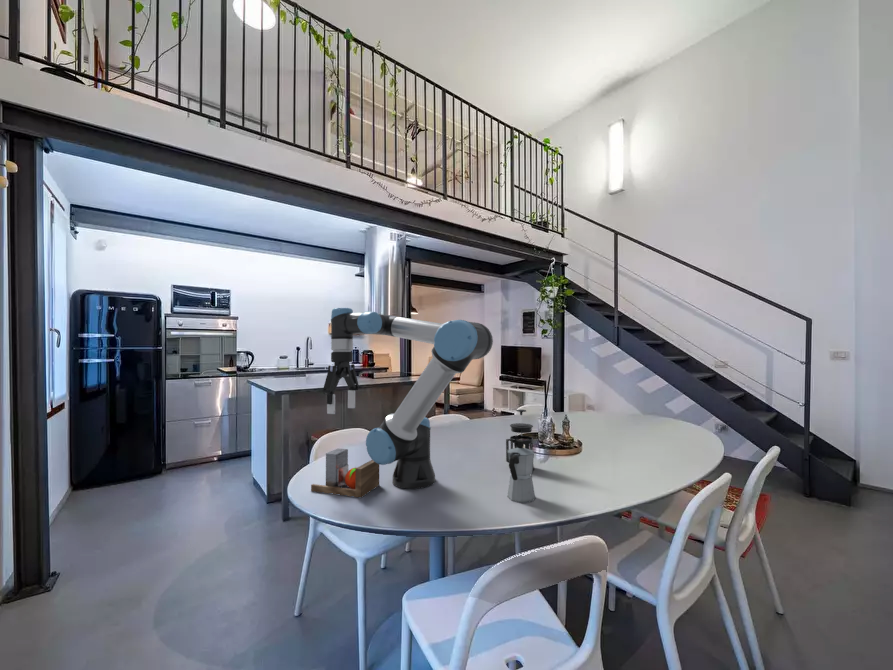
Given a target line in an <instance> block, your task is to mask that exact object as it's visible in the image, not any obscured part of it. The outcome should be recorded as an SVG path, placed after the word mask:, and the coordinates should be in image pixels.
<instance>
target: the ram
mask: <svg viewBox="0 0 893 670" xmlns="http://www.w3.org/2000/svg"><path fill="white" fill-rule="evenodd" d="M348 471H349V449H348V448H340V447H339V448H335V449H334V450H333V449H332V450H330V451H329V452H328V451H327V452H326V453H325V486H333V487H340V488H341V487H342V488H344V487H345V486H347V485H346V483H345V476H346V474H347V472H348Z"/></svg>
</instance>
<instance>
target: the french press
mask: <svg viewBox="0 0 893 670" xmlns="http://www.w3.org/2000/svg"><path fill="white" fill-rule="evenodd" d="M515 411H516V412H519V415H520V423H519V422H517V423H516V422H515V423H511V424H509V427H510V430H511V432H513V433H517V434H520V435H511V436H510V437H509V438H505V459H506V462H507V463H508V464H509V458H508V450H509V449H513V448H518V444H517V440H524V444H523V445H524V448H526V449H529V450H533V447H534V445H533V444H534V438H533V437H532V436H530V435H523V434H528V433H531V432H532V431H533V427H534V426H533V424H531V423H530V424H529V423H523V422H522V421H523V413H524V412H526V413H527V410H526V409H522V408H521V409H516V410H515ZM509 443H510V447H509ZM533 451H534V450H533ZM534 470H535V467H534V466H533V468H532V472H533V471H534Z"/></svg>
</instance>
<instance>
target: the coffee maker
mask: <svg viewBox="0 0 893 670" xmlns="http://www.w3.org/2000/svg"><path fill="white" fill-rule="evenodd" d="M524 440H525V439H522V440H521V439H518V440H517V444H518V448H515V447H513V449H511V448H509V450H508V458H509V463H508V467H509V472H510V476H509V484H508V490H507V496H506V497H507V498H508V499H509V500H510V501H511V502H516V503H519V504H520V503H521V504H524V503H525V504H526V503H532V502H534V500H535V499H536V495H535V493H536V492H535V488H534V482H533V476H531V475H532V474H533V471H532V468H533V467H534V457H535V453H534V450H530V448H529V449H526V448H525V447H524V445H525V444H524Z"/></svg>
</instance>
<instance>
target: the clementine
mask: <svg viewBox="0 0 893 670" xmlns="http://www.w3.org/2000/svg"><path fill="white" fill-rule="evenodd" d="M356 468H357V467H352V468H350V469H348V472H347V474H346V476H345V483H346V485H345V486H347V487H348V489H355V480H356Z"/></svg>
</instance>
